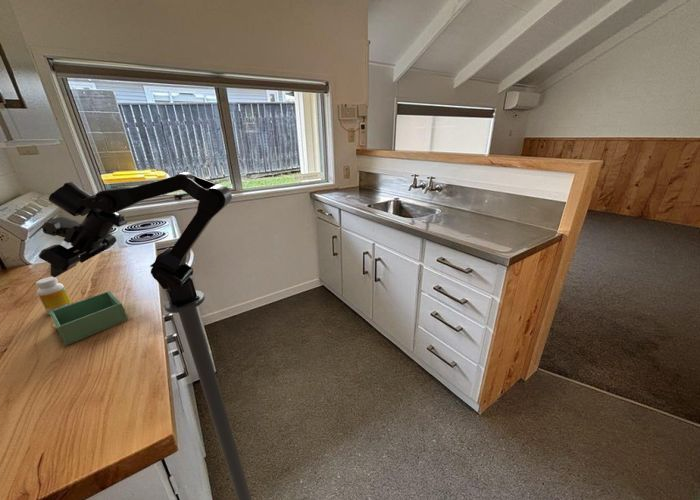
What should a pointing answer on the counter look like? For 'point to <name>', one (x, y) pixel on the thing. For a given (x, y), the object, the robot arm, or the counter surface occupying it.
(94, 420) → the counter surface
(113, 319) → the open box
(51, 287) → the supplement bottle
